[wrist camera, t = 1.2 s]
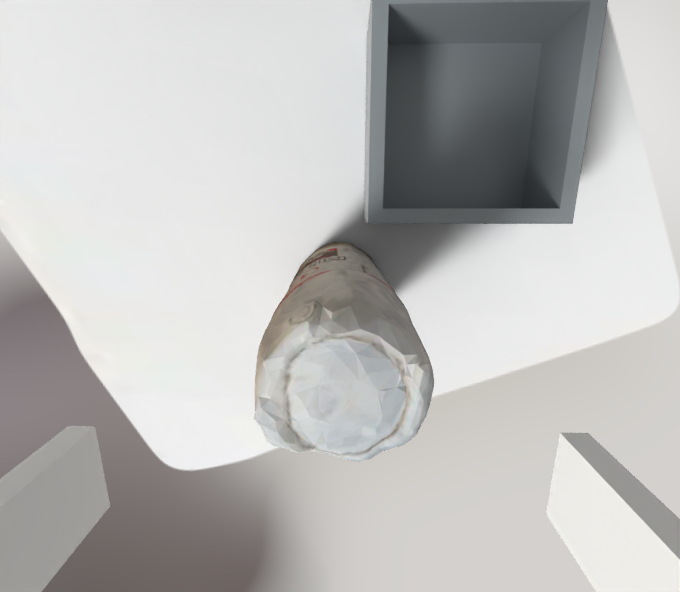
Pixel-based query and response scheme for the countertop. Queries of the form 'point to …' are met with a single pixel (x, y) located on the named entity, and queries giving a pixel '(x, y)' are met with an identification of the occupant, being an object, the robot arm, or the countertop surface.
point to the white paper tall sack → (341, 362)
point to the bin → (478, 109)
